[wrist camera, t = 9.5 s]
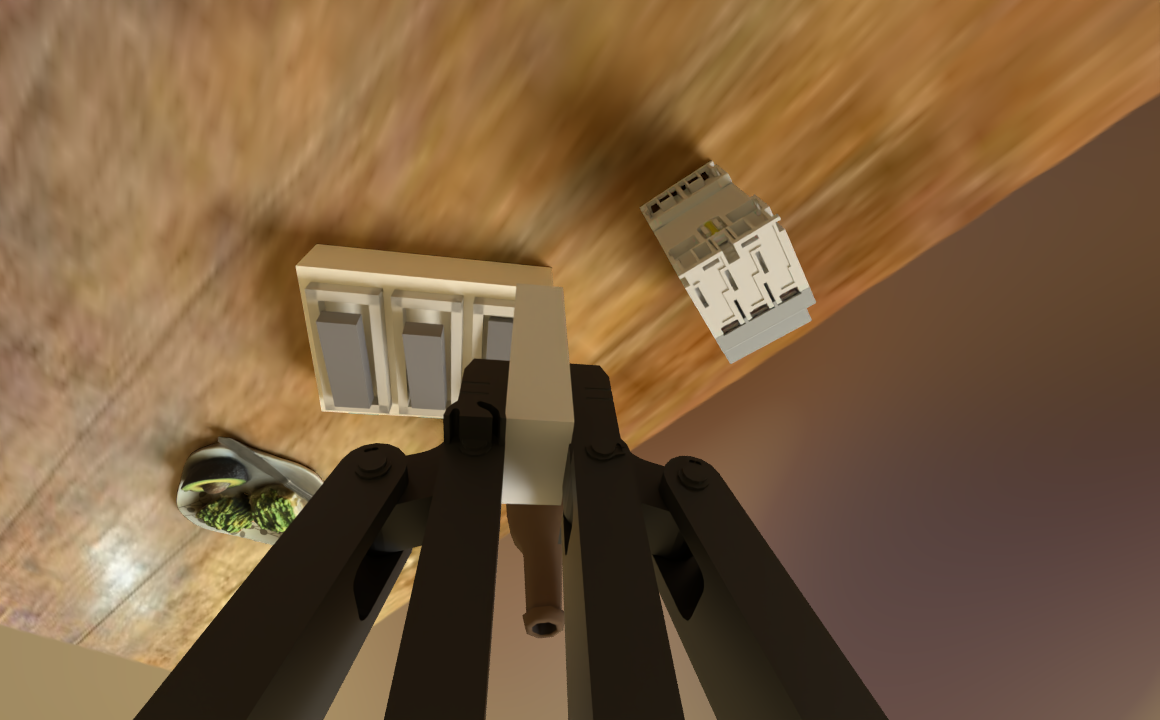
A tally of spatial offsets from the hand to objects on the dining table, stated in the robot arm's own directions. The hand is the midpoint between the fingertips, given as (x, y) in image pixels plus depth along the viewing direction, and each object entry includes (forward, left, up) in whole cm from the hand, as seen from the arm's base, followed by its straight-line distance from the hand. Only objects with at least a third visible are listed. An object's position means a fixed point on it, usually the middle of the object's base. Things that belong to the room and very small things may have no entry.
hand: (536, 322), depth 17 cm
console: (+20, -8, -32) cm, 38 cm away
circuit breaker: (+8, +18, -32) cm, 38 cm away
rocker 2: (+20, -8, -25) cm, 33 cm away
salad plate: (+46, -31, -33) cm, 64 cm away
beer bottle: (+34, +4, -32) cm, 47 cm away
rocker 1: (+20, -15, -25) cm, 36 cm away
